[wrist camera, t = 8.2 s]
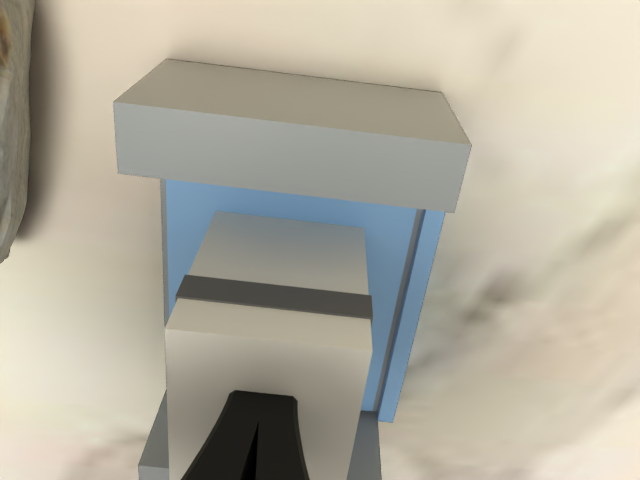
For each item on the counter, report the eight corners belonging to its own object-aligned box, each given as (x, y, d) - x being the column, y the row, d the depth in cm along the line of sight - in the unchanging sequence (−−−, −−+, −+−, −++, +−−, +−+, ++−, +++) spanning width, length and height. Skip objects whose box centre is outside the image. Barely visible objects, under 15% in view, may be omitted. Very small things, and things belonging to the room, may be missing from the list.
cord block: (341, 368, 18) (341, 515, 13) (210, 354, 18) (167, 497, 13) (366, 226, 15) (375, 349, 11) (213, 208, 15) (161, 326, 11)
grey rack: (343, 590, 26) (344, 690, 22) (177, 573, 25) (152, 671, 22) (461, 94, 14) (497, 148, 11) (166, 58, 14) (113, 101, 11)
